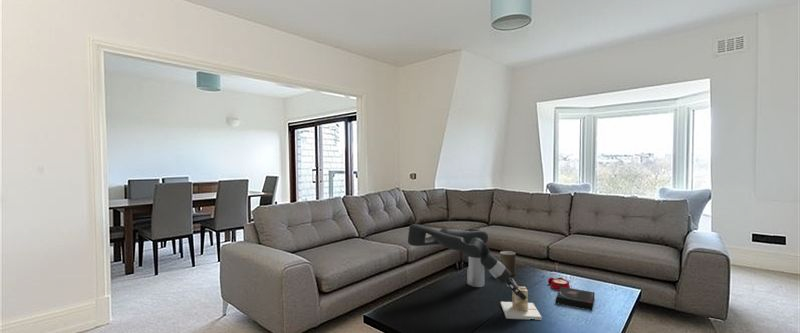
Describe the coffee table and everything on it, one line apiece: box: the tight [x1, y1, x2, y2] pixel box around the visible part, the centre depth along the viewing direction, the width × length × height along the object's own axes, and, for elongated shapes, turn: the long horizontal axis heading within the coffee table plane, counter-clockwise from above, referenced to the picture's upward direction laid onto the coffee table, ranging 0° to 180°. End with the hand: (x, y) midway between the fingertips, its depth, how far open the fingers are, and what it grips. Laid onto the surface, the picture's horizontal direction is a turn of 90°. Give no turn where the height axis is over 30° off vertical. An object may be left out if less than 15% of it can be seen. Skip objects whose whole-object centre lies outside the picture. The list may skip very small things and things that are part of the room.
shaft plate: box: [500, 301, 543, 321], centre depth 178 cm, size 16×16×8 cm
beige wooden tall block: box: [511, 285, 529, 312], centre depth 178 cm, size 6×6×10 cm
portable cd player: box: [554, 287, 595, 311], centre depth 191 cm, size 16×17×4 cm
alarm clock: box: [547, 277, 573, 291], centre depth 212 cm, size 10×6×15 cm
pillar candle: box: [499, 250, 517, 277], centre depth 235 cm, size 10×10×15 cm
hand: (523, 295), depth 178 cm, fingers open, 8 cm apart
